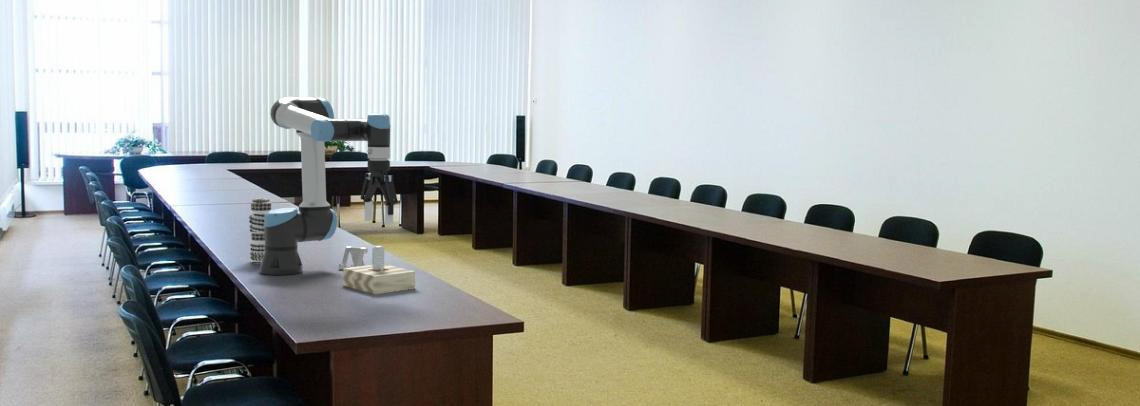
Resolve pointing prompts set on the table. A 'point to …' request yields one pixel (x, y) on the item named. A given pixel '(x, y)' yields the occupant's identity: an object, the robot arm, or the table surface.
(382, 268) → the steel pin
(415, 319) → the table surface
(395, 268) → the block
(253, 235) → the decorative candle
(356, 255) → the portable electronic device stand
